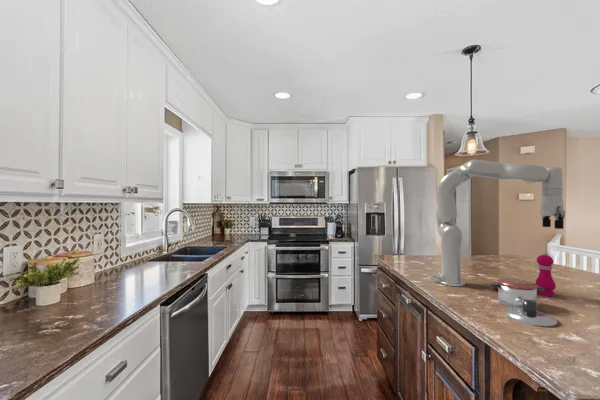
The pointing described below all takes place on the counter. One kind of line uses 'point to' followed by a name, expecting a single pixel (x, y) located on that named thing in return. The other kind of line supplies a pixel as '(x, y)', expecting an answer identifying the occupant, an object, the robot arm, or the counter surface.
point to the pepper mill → (545, 275)
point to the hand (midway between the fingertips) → (552, 227)
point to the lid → (530, 315)
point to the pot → (516, 291)
